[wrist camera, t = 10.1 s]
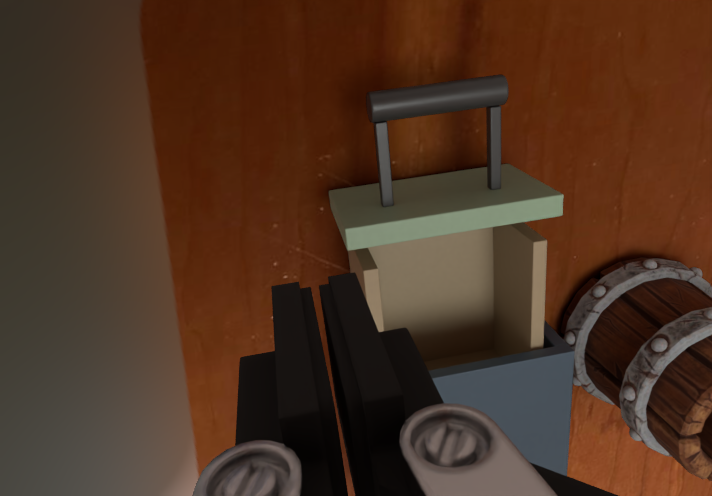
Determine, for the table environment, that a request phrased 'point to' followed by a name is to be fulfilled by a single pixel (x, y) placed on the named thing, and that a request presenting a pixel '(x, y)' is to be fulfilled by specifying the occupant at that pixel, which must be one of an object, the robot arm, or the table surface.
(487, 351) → the drawer
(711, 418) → the mug
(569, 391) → the cabinet
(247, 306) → the table surface
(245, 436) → the robot arm
